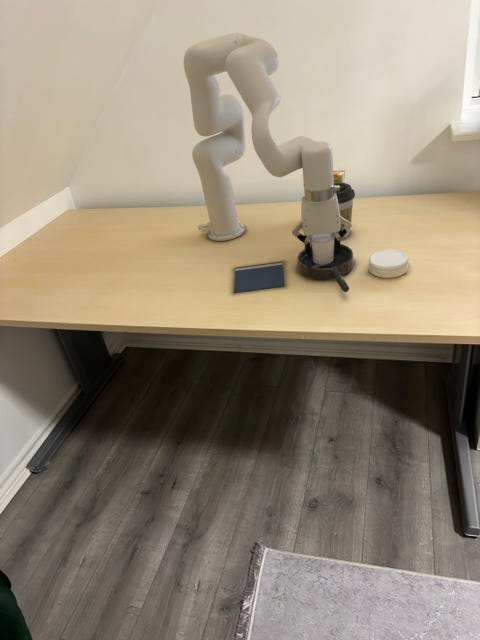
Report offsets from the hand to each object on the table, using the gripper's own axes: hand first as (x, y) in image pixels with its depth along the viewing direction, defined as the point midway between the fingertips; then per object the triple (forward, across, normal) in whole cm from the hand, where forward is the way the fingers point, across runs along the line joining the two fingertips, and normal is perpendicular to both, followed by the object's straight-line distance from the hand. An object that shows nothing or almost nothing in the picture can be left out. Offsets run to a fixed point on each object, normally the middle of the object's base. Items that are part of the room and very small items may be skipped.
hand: (322, 252), depth 139 cm
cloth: (+4, +18, +2) cm, 19 cm away
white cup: (+2, 0, 0) cm, 2 cm away
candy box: (+5, -6, -32) cm, 33 cm away
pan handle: (+2, -3, +13) cm, 14 cm away
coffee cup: (+5, -6, -18) cm, 20 cm away
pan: (+4, 0, 0) cm, 4 cm away
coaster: (+4, -16, +6) cm, 18 cm away
